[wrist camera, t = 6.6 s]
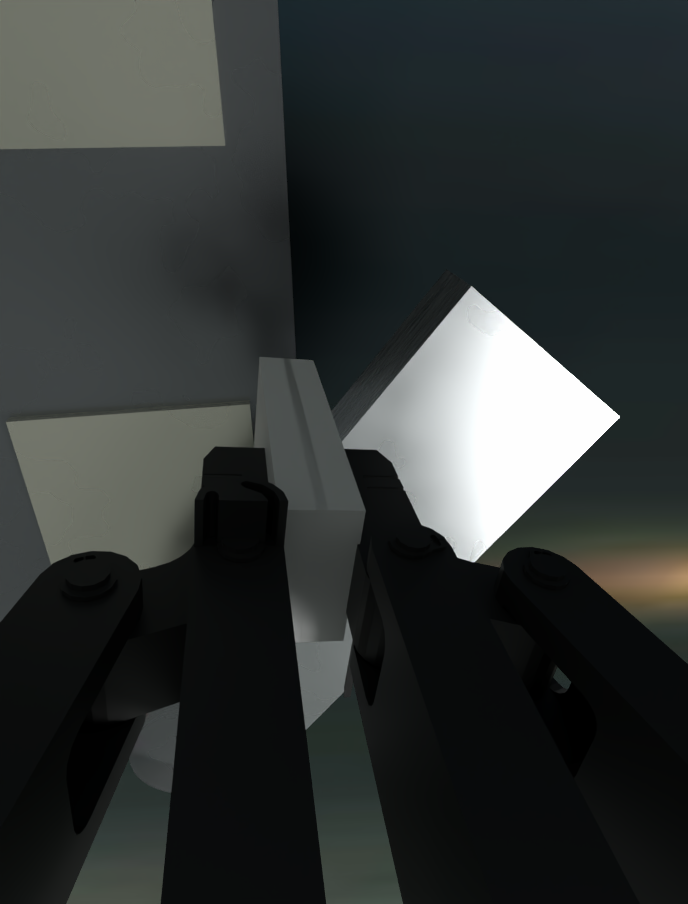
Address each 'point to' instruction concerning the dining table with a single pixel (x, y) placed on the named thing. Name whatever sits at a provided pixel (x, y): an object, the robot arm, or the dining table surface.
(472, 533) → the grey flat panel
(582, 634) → the robot arm
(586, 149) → the dining table surface
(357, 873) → the dining table surface
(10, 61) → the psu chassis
